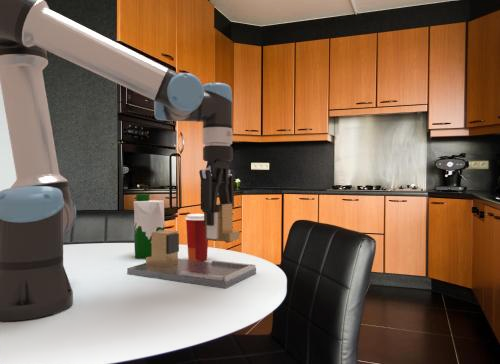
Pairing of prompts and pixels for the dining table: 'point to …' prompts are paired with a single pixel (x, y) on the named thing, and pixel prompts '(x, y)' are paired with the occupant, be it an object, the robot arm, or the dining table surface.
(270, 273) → the dining table surface
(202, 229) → the paper cup
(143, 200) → the milk carton
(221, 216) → the upright wooden block
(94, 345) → the dining table surface
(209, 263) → the gray tray with block
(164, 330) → the dining table surface
